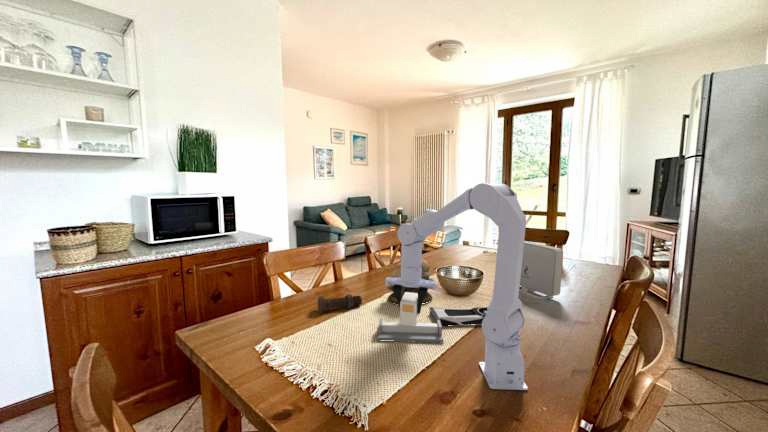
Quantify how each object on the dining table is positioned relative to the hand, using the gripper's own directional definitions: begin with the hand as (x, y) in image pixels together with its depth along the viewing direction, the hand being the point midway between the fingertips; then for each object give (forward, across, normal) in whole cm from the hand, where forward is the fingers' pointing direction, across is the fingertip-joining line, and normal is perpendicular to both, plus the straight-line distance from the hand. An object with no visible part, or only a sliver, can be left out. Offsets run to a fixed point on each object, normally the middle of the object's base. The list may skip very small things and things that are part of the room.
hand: (410, 311), depth 89 cm
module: (+2, 0, 0) cm, 2 cm away
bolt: (+7, -26, +12) cm, 29 cm away
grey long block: (+7, 0, 0) cm, 7 cm away
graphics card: (+8, +18, +14) cm, 24 cm away
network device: (+7, +42, +50) cm, 65 cm away
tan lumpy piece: (+7, -4, +27) cm, 28 cm away
